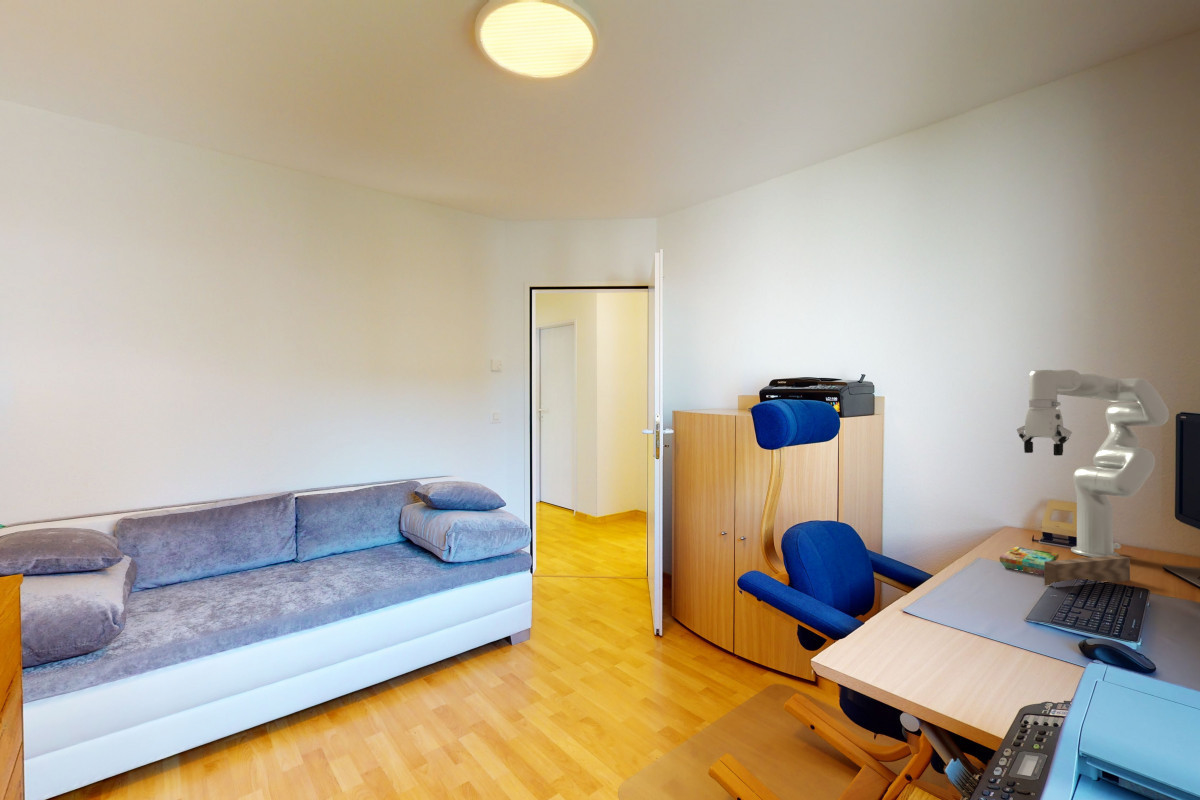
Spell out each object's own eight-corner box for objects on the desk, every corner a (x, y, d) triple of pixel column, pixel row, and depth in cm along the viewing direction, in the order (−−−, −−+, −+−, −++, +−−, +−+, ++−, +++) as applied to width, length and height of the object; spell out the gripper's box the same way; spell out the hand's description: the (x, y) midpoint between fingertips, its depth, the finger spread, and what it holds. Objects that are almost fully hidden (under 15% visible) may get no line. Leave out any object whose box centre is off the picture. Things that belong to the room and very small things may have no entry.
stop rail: (1118, 577, 164) (1118, 555, 164) (1129, 580, 161) (1129, 557, 161) (1044, 585, 156) (1044, 561, 156) (1055, 588, 153) (1055, 564, 153)
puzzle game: (999, 554, 173) (1015, 544, 186) (999, 568, 173) (1015, 557, 186) (1045, 562, 164) (1058, 551, 177) (1045, 577, 164) (1058, 565, 177)
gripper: (1078, 405, 176) (1078, 456, 176) (1025, 405, 193) (1025, 451, 193) (1062, 405, 174) (1062, 456, 174) (1009, 405, 191) (1009, 452, 191)
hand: (1043, 454), depth 183 cm, fingers open, 9 cm apart
